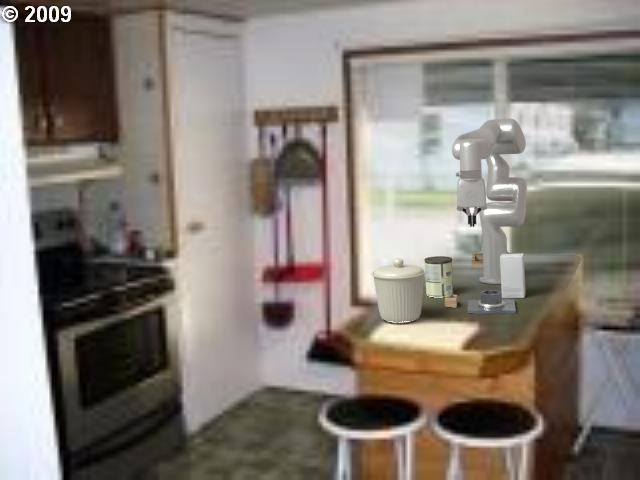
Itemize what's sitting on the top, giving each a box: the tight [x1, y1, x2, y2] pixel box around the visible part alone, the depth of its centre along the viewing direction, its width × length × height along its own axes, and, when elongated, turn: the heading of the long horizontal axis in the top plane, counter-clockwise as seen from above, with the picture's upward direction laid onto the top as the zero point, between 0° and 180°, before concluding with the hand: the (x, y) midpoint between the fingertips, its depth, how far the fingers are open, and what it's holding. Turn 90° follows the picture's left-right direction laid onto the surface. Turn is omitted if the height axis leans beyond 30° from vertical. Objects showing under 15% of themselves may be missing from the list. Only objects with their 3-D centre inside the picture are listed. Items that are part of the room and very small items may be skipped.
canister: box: [371, 257, 426, 322], centre depth 265 cm, size 18×18×21 cm
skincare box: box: [500, 253, 526, 299], centre depth 289 cm, size 8×7×16 cm
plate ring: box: [479, 289, 503, 305], centre depth 275 cm, size 7×7×4 cm
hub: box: [467, 298, 517, 315], centre depth 275 cm, size 16×16×4 cm
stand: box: [444, 292, 458, 308], centre depth 282 cm, size 6×4×4 cm, turn 168°
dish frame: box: [471, 252, 517, 270], centre depth 353 cm, size 20×19×3 cm
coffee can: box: [424, 255, 454, 299], centre depth 298 cm, size 10×10×14 cm
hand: (472, 226), depth 285 cm, fingers closed
